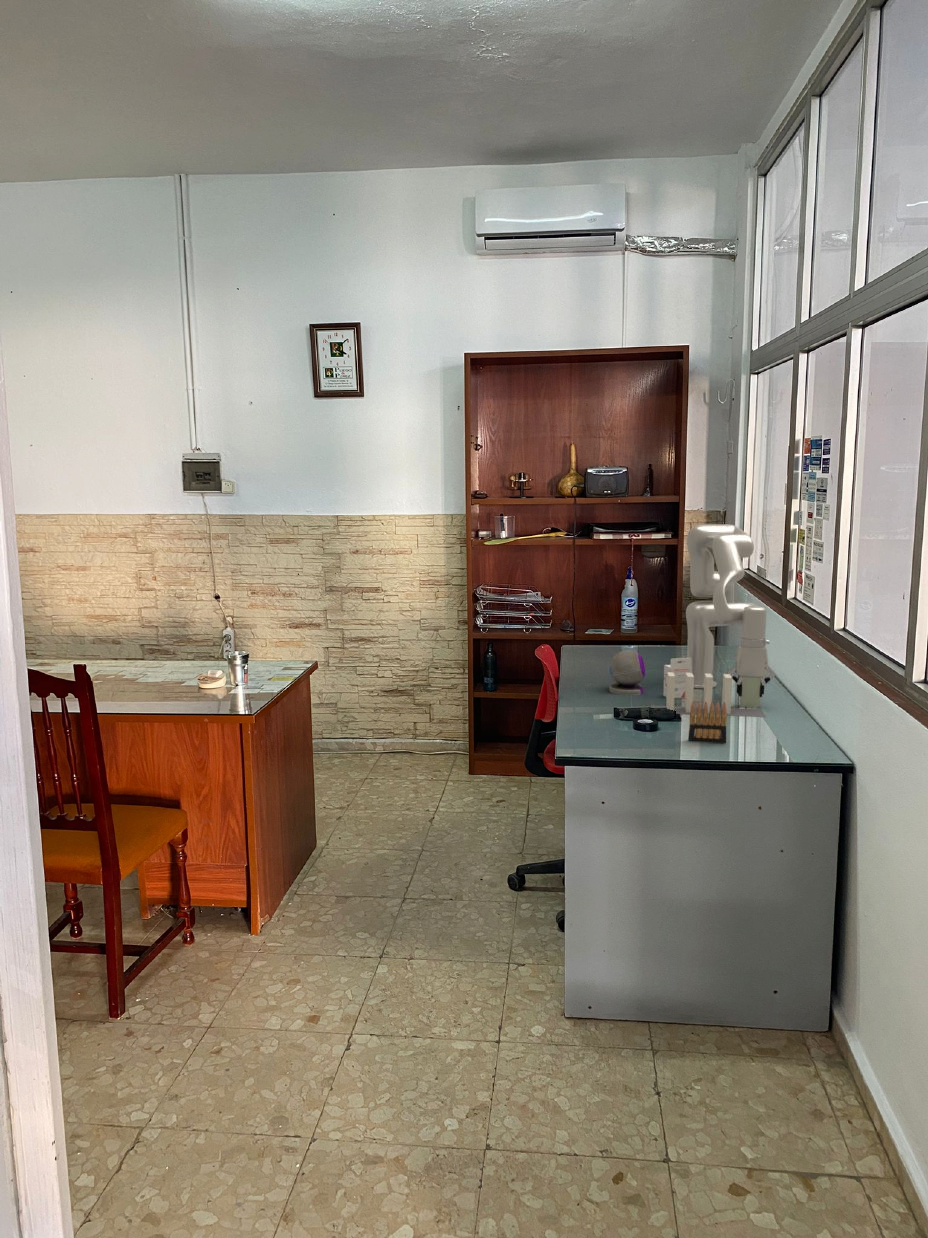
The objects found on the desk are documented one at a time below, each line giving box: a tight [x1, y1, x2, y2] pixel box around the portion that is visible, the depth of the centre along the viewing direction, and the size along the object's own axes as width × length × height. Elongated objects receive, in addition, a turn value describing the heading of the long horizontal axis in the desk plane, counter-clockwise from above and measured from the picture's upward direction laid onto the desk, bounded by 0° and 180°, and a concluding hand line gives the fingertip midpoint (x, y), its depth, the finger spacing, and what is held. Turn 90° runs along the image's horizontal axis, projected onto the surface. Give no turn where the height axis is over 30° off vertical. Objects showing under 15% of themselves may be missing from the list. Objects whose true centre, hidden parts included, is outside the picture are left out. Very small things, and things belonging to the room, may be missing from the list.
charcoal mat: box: [650, 705, 767, 718], centre depth 299 cm, size 10×36×1 cm, turn 82°
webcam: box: [608, 649, 647, 696], centre depth 328 cm, size 13×13×15 cm
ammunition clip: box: [688, 700, 728, 744], centre depth 265 cm, size 11×2×12 cm, turn 80°
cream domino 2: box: [684, 673, 695, 713], centre depth 298 cm, size 2×6×12 cm, turn 172°
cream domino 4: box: [721, 673, 733, 714], centre depth 297 cm, size 2×6×12 cm, turn 172°
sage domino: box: [739, 677, 761, 708], centre depth 305 cm, size 2×6×12 cm, turn 82°
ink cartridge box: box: [662, 657, 692, 699], centre depth 318 cm, size 9×5×15 cm, turn 105°
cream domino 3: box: [702, 673, 714, 713], centre depth 298 cm, size 2×6×12 cm, turn 172°
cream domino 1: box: [665, 672, 675, 711], centre depth 299 cm, size 2×6×12 cm, turn 172°
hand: (750, 695), depth 305 cm, fingers closed on sage domino, 5 cm apart
